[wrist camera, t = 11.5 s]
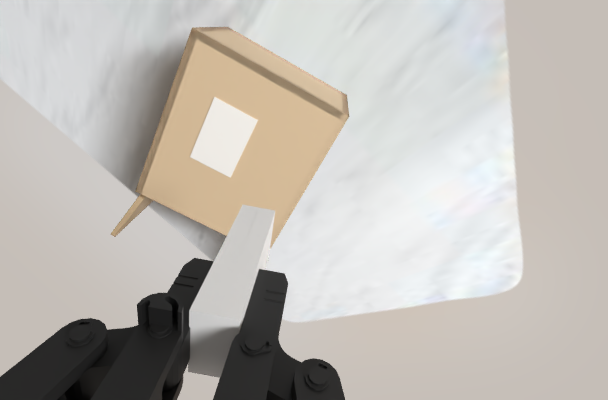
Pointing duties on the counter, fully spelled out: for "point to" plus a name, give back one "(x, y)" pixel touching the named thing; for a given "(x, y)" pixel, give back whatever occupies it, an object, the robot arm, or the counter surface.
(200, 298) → the robot arm
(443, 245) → the counter surface
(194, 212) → the carton
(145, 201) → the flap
